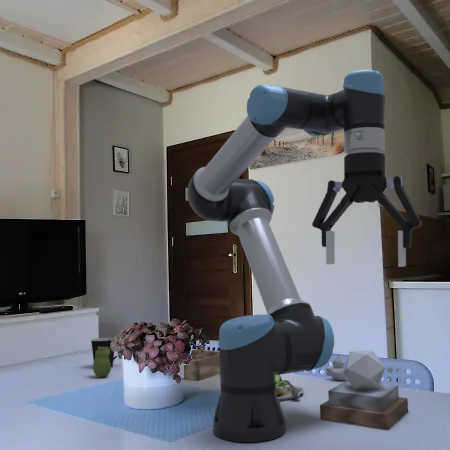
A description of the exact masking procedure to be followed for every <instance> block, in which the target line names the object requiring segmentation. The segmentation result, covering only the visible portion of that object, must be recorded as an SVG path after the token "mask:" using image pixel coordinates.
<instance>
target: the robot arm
mask: <svg viewBox="0 0 450 450" xmlns="http://www.w3.org/2000/svg"><path fill="white" fill-rule="evenodd" d="M342 88H343V89H342V90H340V91H337V92H334V93H331V94H321V93H316V92H310V91H304V90H298V89H294V88H290V87H285V86H281V85H278V84H263V83H262V84H257V85H256V86H254V88H252V89H251V91H250V93H249V98H248V99H247V102H246V113H247V116H246V117H245V118H244V119H243V120H242V122H240V124H239V125H238V126H237V128H236V129H235V130H234V132H232V134H231V135H230V136H229V138H228V139H227V140H226V141H225V142H224V144H223V145H222V146H221V148H220V149H219V150H218V151H217V153H216V154H215V155H214V156H213V157H212V159H211V160H210V161H209V162H208V163H207V165H205V166H202V167H200V168H198V169H197V171H195V173H194V174H193V175H192V177H191V178H190V180H189V183H188V185H187V191H186V192H187V193H186V194H187V200H188V203H189V206H190V207H191V209H192V210H193V212H194V213H195V214H196V215H197V216H199V217H200V218H202V219H204V220H206V221H211V222H225V223H227V224H228V228H229V230H230V232H231V233H232V234H234V235H235V236H238V238H239V240H240V244H241V246H242V248H243V251H244V254H245V257H246V259H247V262H248V265H249V267H250V270H251V272H252V276H253V278H254V280H255V283H256V286H257V288H258V292H259V294H260V297H261V300H262V302H263V303H262V304H263V306H264V307H265V311H266V314H253V315H243V316H239V317H235V318H231V319H229V320H228V319H227V320H226V321H225V322H223V323H222V324H221V326H220V327H219V334H218V335H219V336H218V345H217V346H218V348H219V349H218V351H219V353H220V374H219V378H220V379H219V381H220V382H219V383H220V396H219V399H218V402H217V404H216V409H215V412H214V416H213V420H212V426H213V428H212V430H213V434H214V435H215V436H216V437H218V438H221V439H222V440H226V441H231V442H236V443H237V442H238V443H259V442H267V441H271V440H274V439H277V438H280V437H281V436H283V435H284V434H285V433H286V429H287V428H286V426H287V424H286V417H285V415H284V412H283V408H282V405H281V404H280V402H279V400H278V397H277V394H276V383H275V375H280V376H281V375H286V374H291V373H299V372H310V371H313V370H316V369H320V368H323V367H325V366H326V365H327V364H328V363H329V361H330V360H331V358H332V356H333V354H334V348H335V336H334V335H335V334H334V332H333V331H334V330H333V327H332V325H331V323H330V322H329V321H328V320H327V318H324V317H323V316H321V315H315V313H314V310H313V308H312V306H311V304H310V303H309V302H307V301H304V300H302V299H301V297H300V294H299V292H298V290H297V287H296V284H295V282H294V280H293V278H292V275H291V273H290V271H289V268H288V266H287V263H286V261H285V258H284V256H283V253H282V251H281V249H280V247H279V244H278V242H277V239H276V237H275V234H274V233H273V230H272V227H271V225H270V224H271V223H270V222H271V220H272V217H273V214H274V210H275V204H274V203H275V198H274V194H273V192H272V190H271V188H270V187H269V186H268V185H267V184H266V183H265V182H263V181H261V180H255V179H253V178H252V179H251V178H246V179H242V178H240V176H242V174H243V173H244V172H245V171H246V170H247V169H248V168H249V167H250V166H251V165H252V164H253V163H254V161H256V159H257V158H258V157H260V156H261V154H262V153H263V152H264V151H265V150H266V149H267V148H268V146H270V145H271V143H272V142H273V141H274V140H275V139H276V138H277V137H278V136H279V135H280V134H282V132H283V131H284V130H285V129H288V128H289V129H294V130H295V129H296V130H303V131H304V132H306V133H307V134H308V135H309V136H312V137H320V136H328V135H330V134H332V133H336V132H339V131H342V130H343V146H344V147H343V151H344V153H345V154H346V155H345V156H344V158H343V176H344V177H343V180H342V181H335V180H329V181H328V182H327V189H326V193H325V196H324V198H323V199H322V202H321V204H320V206H319V208H318V210H317V213H316V215H315V217H314V219H313V221H312V224H311V225H312V227H313V228H316V229H318V230H320V231H321V247H322V248H325V250H326V251H325V261H326V262H325V263H326V265H335V262H336V261H335V260H336V258H335V254H336V253H335V251H336V249H335V246H336V245H335V244H336V243H335V240H336V238H335V235H336V234H335V233H336V232H335V230H332V229H333V227H334V226H335V224H336V223H337V222H338V221H339V219H341V217H342V216H343V214H344V213H345V212H346V211H347V209H349V207H350V206H351V205H352V204H353V203H358V204H362V203H370V204H371V203H375V202H378V203H379V204H380V205H381V206H382V207H383V208H384V210H385V211H387V213H388V214H389V215H390V216H391V218H392V219H394V221H395V222H396V223H397V224H398V225H399V226H400V227H401V228H402V230H397V259H398V260H397V261H398V262H397V263H398V265H397V267H398V268H399V267H401V268H402V267H406V266H407V258H406V256H407V254H406V253H407V252H406V251H407V249H410V248H411V247H412V245H413V244H412V240H413V239H412V231H413V230H414V229H417V228H419V227H421V226H423V221H422V220H421V218H420V216H419V214H418V212H417V210H416V208H415V207H414V205H413V202H412V201H411V199H410V197H409V196H408V194H407V192H406V190H405V186H404V179H403V178H402V177H400V176H397V175H396V176H394V177H393V178H392V177H391V178H387V177H386V156H385V154H384V153H383V152H384V151H386V137H385V135H386V133H385V132H386V131H385V130H386V129H385V105H386V104H385V103H386V102H385V101H386V93H385V91H386V90H385V79H384V75H383V74H382V73H381V72H379V71H377V70H374V69H359V70H355V71H351V72H349V73H347V74H346V75H345V77H344V78H343V85H342ZM388 186H390V188H391V190H394V192H395V193H396V196H397V198H398V199H399V201H400V203H401V205H402V207H403V209H404V210H405V213H406V214H407V216H408V218H409V221H408V220H407V219H406V218H405V217H404V215H403V214H402V212H400V210H398V209H397V207H395V205H393V203H392V202H391V201H390V200H389V198H388V197H387V195H385V193H384V192H385V190H386V188H387V187H388ZM341 189H343V191H344V192H345V194H344V195H343V197H342V198H341V199H340V202H339V203H338V204H337V206H335V208H334V209H333V210H332V211H331V213H330V214H329V212H330V210H331V207H332V206H333V204H334V201H335V199H336V198H337V197H336V196H337V194H338V193H339V192H340V191H341ZM328 214H329V216H328Z"/></svg>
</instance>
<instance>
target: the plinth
mask: <svg viewBox="0 0 450 450" xmlns="http://www.w3.org/2000/svg"><path fill="white" fill-rule="evenodd" d="M327 391H328V394H327V395H328V400H326V401H324V402H322V403H321V404H320V405H319V415H320V416H319V417H320V420H324V421H330V422H337V423H343V424H350V425H353V426H354V425H355V426H362V427H368V428H373V429H380V430H385V431H389V430H390V429H391V428H393V426H395V425H396V424H397V423H398V422H399V421H400V420H401V419H402V418H403V417H405V415H407V413H408V412H409V404H408V403H409V400H408V397H400V393H399V385H396V384H387V383H380V385H379V388H378V389H365V390H354V388H353V387H352V385H351V384H350V382H349V381H348V379H347V380H345V381H344V382H342V383H340V384H338V385H336V386H335V387H333V388H330V389H329V390H327Z"/></svg>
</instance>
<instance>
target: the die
mask: <svg viewBox="0 0 450 450" xmlns="http://www.w3.org/2000/svg"><path fill="white" fill-rule="evenodd" d="M385 369H386V366H385V365H384V364H383V362H382V361H381V360H380V358H379V357H378V356H377V355H376V353H375V352H374V351H373V350H356V351H355V350H353V351H352V350H350V351H349V352H348V355H347V359H346V362H345V364H344V371H343V373H344V375H345V376H346V378H345V379H347V380H348V381H349V382H350V384H351V385H352V387H353V388H354V390H365V389H378V388H379V385H380V384H381V381H382V379H383V375H384V374H385V371H386V370H385Z"/></svg>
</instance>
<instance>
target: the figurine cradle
mask: <svg viewBox="0 0 450 450" xmlns="http://www.w3.org/2000/svg"><path fill="white" fill-rule="evenodd" d="M190 352H192V350H191V351H190ZM218 375H220V353H219V350H216V351H215V350H207V349H204V354H202V359H200V360H194V354H192V360H191V362H190V364H188V365H184V379H183V380H187V381H188V380H189V381H196V382H199V381H202V380H205V379H208V378H212V377H214V376H215V377H216V376H218Z"/></svg>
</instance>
